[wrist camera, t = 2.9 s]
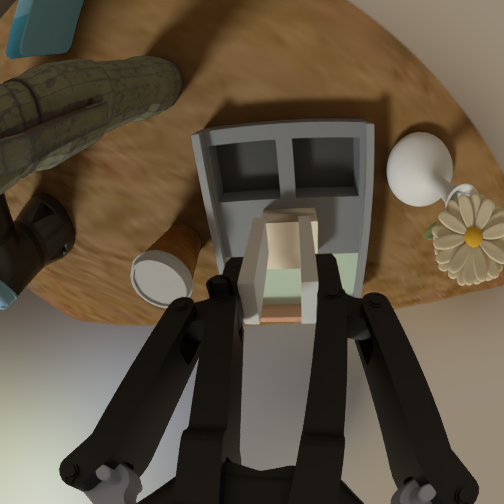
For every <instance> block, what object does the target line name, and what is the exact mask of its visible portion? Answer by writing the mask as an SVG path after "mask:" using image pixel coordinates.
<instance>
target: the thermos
mask: <svg viewBox="0 0 504 504" xmlns="http://www.w3.org/2000/svg"><path fill="white" fill-rule="evenodd" d="M182 85H183V79H182V75H181V71H180V70H179V68H178V67H177V66H176V64H174V63H173V62H172V61H170V60H169V59H165V58H161V57H155V56H136V57H131V58H128V59H125V60H115V61H100V62H94V61H92V60H87V59H72V60H64V61H57V62H50V63H44V64H40V65H37V66H35V67H32V68H30V69H29V70H27V71H25V72H24V73H22V74H21V75H20V76H18V77H15V78H12V79H10V80H8V81H5V82H4V83H3V84H0V195H1V194H2V193H4V192H5V191H6V190H8V189H9V188H10V187H12V186H13V185H15V184H16V183H17V182H18V180H19V179H20V178H24V177H26V176H27V175H29V174H31V173H32V172H34V171H40V170H47V169H51V168H53V167H55V166H57V165H58V164H60V163H62V162H64V161H65V160H67V159H69V158H70V157H72V156H74V155H75V154H77V153H79V152H80V151H82V150H84V149H86V148H88V147H89V146H91V145H93V144H95V143H96V142H97V141H98V140H99V139H100V138H101V137H102V136H103V135H104V133H106V132H108V131H111V130H113V129H115V128H117V127H119V126H121V125H124V124H126V123H128V122H130V121H142V120H145V119H148V118H150V117H153V116H155V115H158V114H160V113H161V112H162V111H165V110H167V109H168V108H170V107H171V106H172V105H174V103H175V102H176V101H177V99H178V98H179V96H180V94H181V91H182Z"/></svg>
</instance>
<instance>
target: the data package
mask: <svg viewBox="0 0 504 504" xmlns="http://www.w3.org/2000/svg"><path fill="white" fill-rule="evenodd" d="M83 2H84V0H19V2H18V5H17V9H16V12H15V15H14V19H13V23H12V27H11V31H10V35H9V39H8V44H7V49H6V54H7V57H8V58H10V59H15V58H22V57H31V56H41V55H52V54H62V53H66V52H67V51H68V50H69V49H70V48H71V45H72V41H73V37H74V33H75V29H76V25H77V22H78V18H79V15H80V11H81V8H82V5H83Z"/></svg>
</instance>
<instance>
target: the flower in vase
mask: <svg viewBox="0 0 504 504" xmlns="http://www.w3.org/2000/svg"><path fill="white" fill-rule="evenodd" d="M452 175H453V163H452V159H451V155H450V153H449V151H448V149H447V147H446V146H445V144H444V143H443V142H442V141H441V140H440V139H439V138H437V137H436V136H434V135H432V134H430V133H426V132H415V133H411V134H409V135H407V136H405V137H403V138H402V139H401V140H400V141H398V143H397V144H396V145H395V146H394V148H393V149H392V151H391V153H390V155H389V158H388V162H387V179H388V183H389V186H390V188H391V190H392V192H393V193H394V195H395V196H396V197H397V198H398V199H399V200H401V201H402V202H404V203H406V204H408V205H412V206H427V205H430V204H432V203H434V202H436V201H437V200H439V199H440V198H442V199H443V200H444V202H445V204H446V205H445V209H444V211H442V212H440V213H439V215H438V218H439V221H437V222H435V223H434V224H432V225H431V226H430V227H429V228H428V229H427V231H426V232H425V234H424V235H423V237H422V238H425V239H430V240H434V242H433V245H434V247H435V250H434V251H435V254H436V255H437V256H436V261H437V262H438V263H439V269H440V270H441V271H447V270H449V271H448V275H449V277H450V278H452V279H455V278H457V282H458V284H459V285H461V286H463V285H465V284H466V285H471V284H473V283H474V284H479V283H481V282H482V281H485V280H487V281H490V280H492V279H493V278H497V277H498V276H499V272H500V271H501V270H502V269H503V264H504V209H503V208H502V207H501V206H497V207H495V203H494V202H493V201H492V200H491V199H485V197H484V195H482V194H479V195H478V192H477V190H476V189H475V187H473V186H472V185H470V184H460V185H458V186H456V185H454V184H452V183H451V180H452Z"/></svg>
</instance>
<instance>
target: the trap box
mask: <svg viewBox="0 0 504 504" xmlns="http://www.w3.org/2000/svg"><path fill="white" fill-rule="evenodd" d="M191 138H192V144H193V149H194V154H195V160H196V165H197V170H198V175H199V181H200V186H201V191H202V196H203V201H204V205H205V210H206V215H207V220H208V225H209V229H210V234H211V238H212V243H213V248H214V252H215V256H216V261H217V265H218V270H219V274H220V275H221V274H222V273H223V270H224V267H225V264H226V262H227V261H228V260H229V259H230V258H231V257H244V254H245V250H246V246H247V242H248V238H249V234H250V230H251V226H252V222H253V218H262V213H263V210H272V209H293V208H315V210H316V215H317V220H318V254H325V253H332V254H333V256H334V257H335V258H336V260H337V265H338V269H339V274H340V279H341V283H342V288H343V289H344V290H345V292H346V293H347V294H348V295H350V296H352V297H356V298H361V293H362V286H363V280H364V273H365V266H366V259H367V251H368V243H369V233H370V223H371V211H372V198H373V179H374V124H373V123H371V122H369V121H367V120H364V119H355V118H314V119H289V120H273V121H261V122H250V123H241V124H232V125H224V126H217V127H210V128H204V129H202V130H200V131H198V132H196V133H194V134H192V135H191ZM292 321H302V316H301V274H300V269H269V270H267V272H266V280H265V288H264V296H263V303H262V311H261V318H260V322H292ZM243 322H245V321H244V320H243Z"/></svg>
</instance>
